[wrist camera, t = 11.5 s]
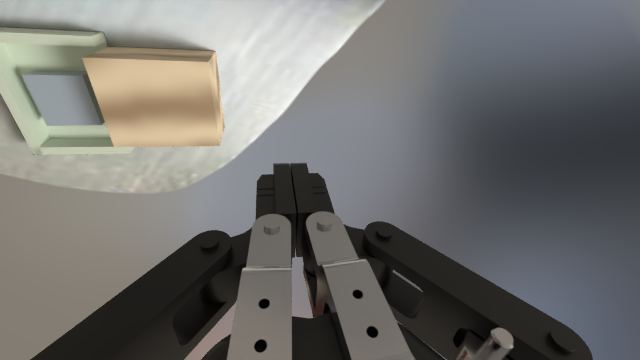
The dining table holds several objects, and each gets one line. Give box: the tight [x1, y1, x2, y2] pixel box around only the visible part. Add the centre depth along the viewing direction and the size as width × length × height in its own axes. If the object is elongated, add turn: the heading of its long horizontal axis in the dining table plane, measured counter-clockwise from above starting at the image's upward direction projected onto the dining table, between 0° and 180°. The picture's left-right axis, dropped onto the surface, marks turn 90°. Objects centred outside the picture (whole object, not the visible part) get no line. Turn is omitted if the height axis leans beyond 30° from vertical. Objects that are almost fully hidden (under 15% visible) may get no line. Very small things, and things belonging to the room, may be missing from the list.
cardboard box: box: [82, 47, 225, 147], centre depth 35 cm, size 10×12×6 cm
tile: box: [22, 71, 105, 126], centre depth 35 cm, size 6×6×2 cm
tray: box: [0, 27, 134, 155], centre depth 35 cm, size 14×11×3 cm
